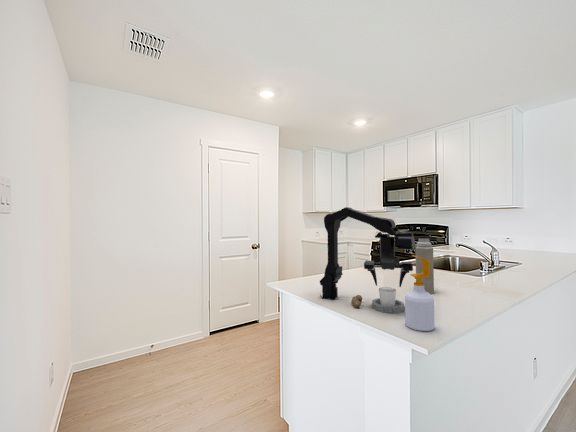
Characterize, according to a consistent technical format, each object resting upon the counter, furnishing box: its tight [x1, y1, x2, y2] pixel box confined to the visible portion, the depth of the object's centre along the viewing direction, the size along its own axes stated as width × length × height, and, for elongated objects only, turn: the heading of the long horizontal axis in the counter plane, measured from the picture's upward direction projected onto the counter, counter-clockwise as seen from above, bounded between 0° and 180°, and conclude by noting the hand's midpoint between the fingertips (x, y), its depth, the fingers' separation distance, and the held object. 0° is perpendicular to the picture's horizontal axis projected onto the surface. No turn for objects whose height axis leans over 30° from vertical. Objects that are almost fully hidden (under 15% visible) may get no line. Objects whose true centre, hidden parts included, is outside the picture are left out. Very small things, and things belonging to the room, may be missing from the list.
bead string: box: [351, 294, 363, 309], centre depth 118 cm, size 11×4×3 cm, turn 161°
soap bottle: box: [404, 254, 436, 332], centre depth 94 cm, size 9×9×25 cm
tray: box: [371, 297, 405, 314], centre depth 113 cm, size 12×12×2 cm
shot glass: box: [378, 286, 397, 307], centre depth 113 cm, size 7×7×7 cm
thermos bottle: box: [414, 235, 435, 295], centre depth 135 cm, size 8×8×28 cm
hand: (388, 286), depth 113 cm, fingers open, 9 cm apart
